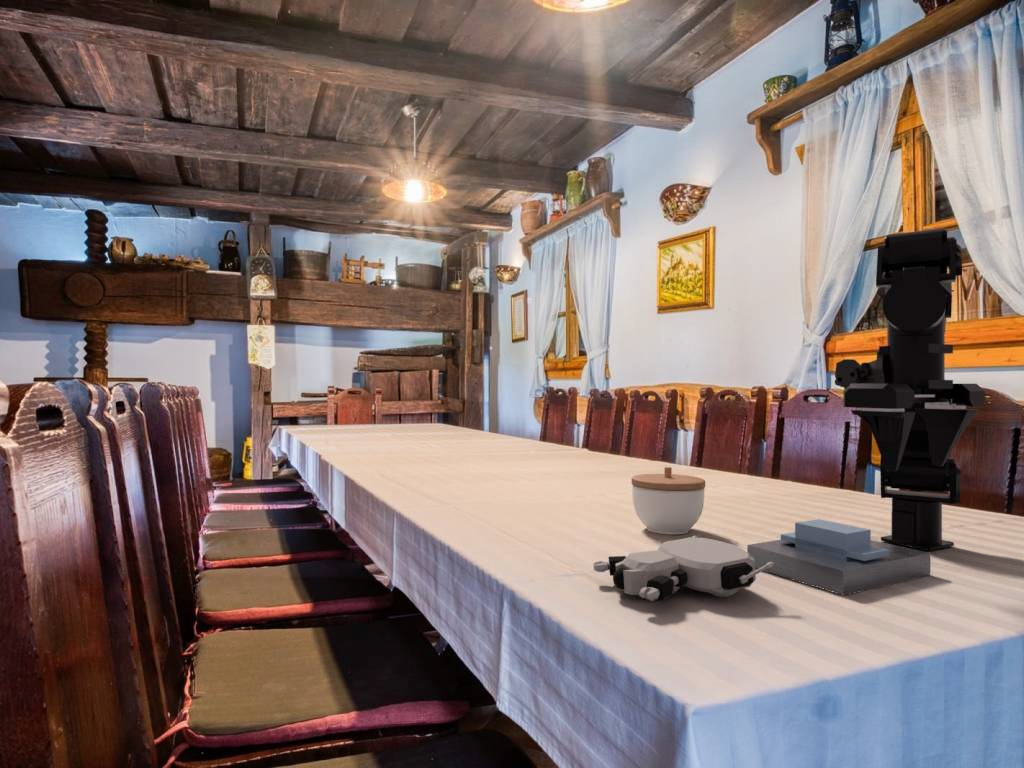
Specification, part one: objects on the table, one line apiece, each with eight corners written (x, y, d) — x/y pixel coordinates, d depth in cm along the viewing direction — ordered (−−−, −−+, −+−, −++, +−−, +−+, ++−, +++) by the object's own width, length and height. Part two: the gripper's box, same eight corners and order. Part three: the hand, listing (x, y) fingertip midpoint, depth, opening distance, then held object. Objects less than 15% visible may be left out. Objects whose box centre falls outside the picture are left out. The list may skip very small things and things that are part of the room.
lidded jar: (616, 529, 93) (617, 466, 93) (657, 519, 100) (658, 461, 100) (679, 542, 85) (679, 474, 85) (718, 531, 92) (719, 468, 92)
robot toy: (649, 630, 56) (781, 600, 61) (646, 580, 56) (778, 554, 61) (587, 590, 67) (702, 567, 72) (585, 548, 67) (700, 528, 72)
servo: (812, 555, 78) (812, 515, 78) (896, 577, 69) (896, 532, 69) (780, 560, 75) (780, 519, 75) (864, 584, 66) (864, 537, 66)
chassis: (832, 550, 81) (832, 531, 81) (930, 574, 70) (930, 552, 71) (747, 565, 73) (747, 544, 73) (843, 595, 63) (843, 571, 63)
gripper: (895, 343, 85) (895, 457, 85) (802, 338, 76) (802, 465, 76) (987, 338, 75) (987, 466, 75) (893, 332, 66) (893, 477, 66)
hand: (915, 468), depth 73 cm, fingers open, 9 cm apart
